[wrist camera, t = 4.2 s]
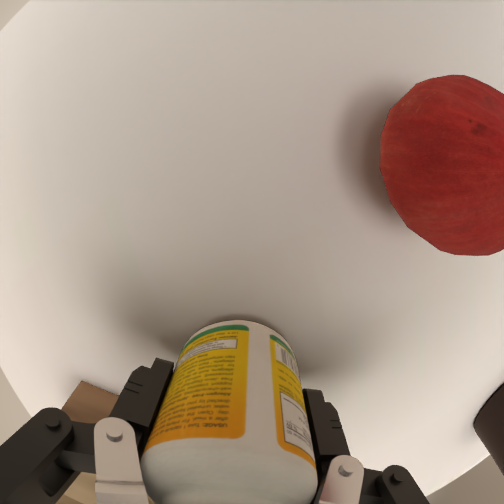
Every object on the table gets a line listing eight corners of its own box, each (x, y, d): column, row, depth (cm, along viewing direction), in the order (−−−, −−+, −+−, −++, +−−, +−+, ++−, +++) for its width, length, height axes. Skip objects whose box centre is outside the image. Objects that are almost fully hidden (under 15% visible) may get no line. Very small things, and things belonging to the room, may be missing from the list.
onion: (406, 77, 9) (536, 17, 2) (472, 176, 10) (603, 199, 3) (320, 153, 10) (453, 119, 3) (401, 256, 11) (531, 348, 4)
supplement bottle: (315, 337, 12) (379, 544, 3) (267, 412, 14) (274, 577, 4) (199, 297, 12) (115, 525, 2) (169, 382, 13) (114, 550, 4)
